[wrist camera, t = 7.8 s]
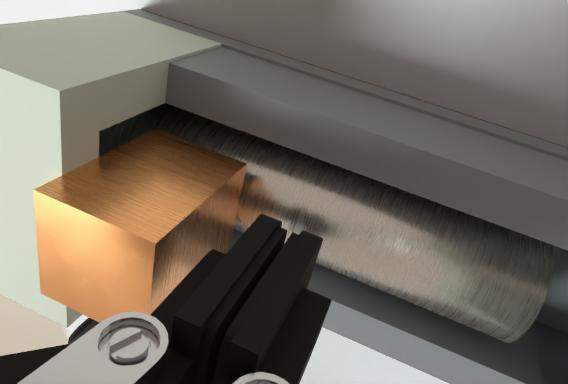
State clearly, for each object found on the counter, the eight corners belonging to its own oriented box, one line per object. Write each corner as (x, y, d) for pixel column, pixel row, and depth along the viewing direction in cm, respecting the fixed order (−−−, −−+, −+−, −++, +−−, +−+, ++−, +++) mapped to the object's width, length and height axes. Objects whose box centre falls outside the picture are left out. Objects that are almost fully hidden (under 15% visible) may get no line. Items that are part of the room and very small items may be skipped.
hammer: (543, 219, 14) (614, 440, 7) (495, 295, 15) (518, 533, 9) (148, 77, 16) (-59, 145, 10) (142, 155, 18) (-39, 256, 11)
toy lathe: (894, 253, 12) (1468, 628, 5) (714, 408, 16) (912, 756, 9) (139, 9, 17) (-89, 34, 10) (130, 170, 20) (-43, 272, 13)
